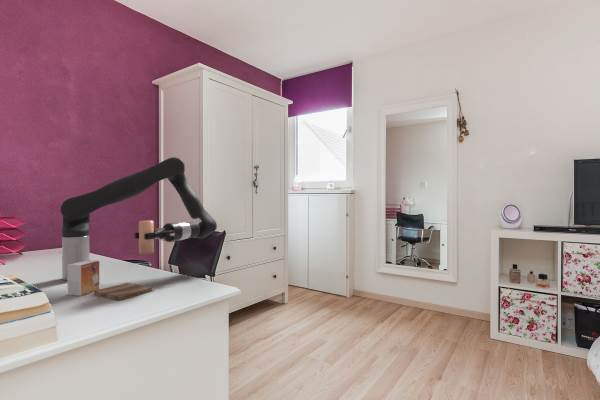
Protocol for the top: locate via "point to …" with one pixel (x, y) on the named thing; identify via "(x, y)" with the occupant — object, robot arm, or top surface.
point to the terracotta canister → (144, 244)
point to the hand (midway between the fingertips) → (140, 236)
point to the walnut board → (123, 291)
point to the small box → (83, 277)
